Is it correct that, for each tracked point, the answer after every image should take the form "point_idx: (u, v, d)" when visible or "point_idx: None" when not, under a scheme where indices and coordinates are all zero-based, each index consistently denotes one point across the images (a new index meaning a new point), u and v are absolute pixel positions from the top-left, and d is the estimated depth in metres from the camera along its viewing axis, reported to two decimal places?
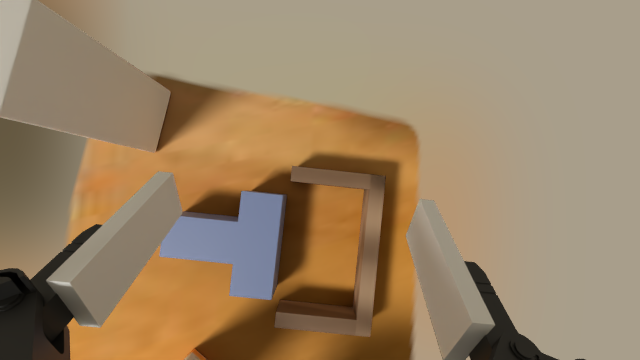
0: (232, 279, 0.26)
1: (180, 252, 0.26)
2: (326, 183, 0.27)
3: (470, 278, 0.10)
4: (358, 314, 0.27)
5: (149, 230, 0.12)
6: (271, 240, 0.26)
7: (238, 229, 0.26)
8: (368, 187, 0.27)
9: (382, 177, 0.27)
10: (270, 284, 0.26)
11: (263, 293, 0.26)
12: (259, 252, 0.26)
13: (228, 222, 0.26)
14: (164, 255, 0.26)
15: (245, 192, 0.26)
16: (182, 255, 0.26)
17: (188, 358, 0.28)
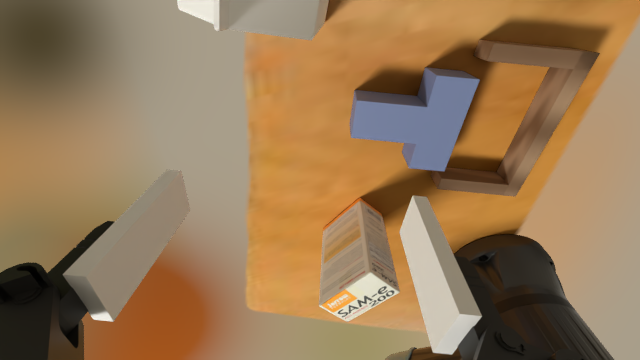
0: (414, 156, 0.30)
1: (369, 134, 0.29)
2: (526, 63, 0.25)
3: (459, 272, 0.10)
4: (512, 181, 0.32)
5: (159, 227, 0.13)
6: (456, 124, 0.27)
7: (426, 114, 0.27)
8: (573, 67, 0.25)
9: (595, 55, 0.24)
10: (446, 160, 0.30)
11: (438, 166, 0.30)
12: (442, 134, 0.28)
13: (418, 107, 0.27)
14: (355, 136, 0.29)
15: (440, 76, 0.25)
16: (371, 136, 0.29)
17: (361, 205, 0.36)
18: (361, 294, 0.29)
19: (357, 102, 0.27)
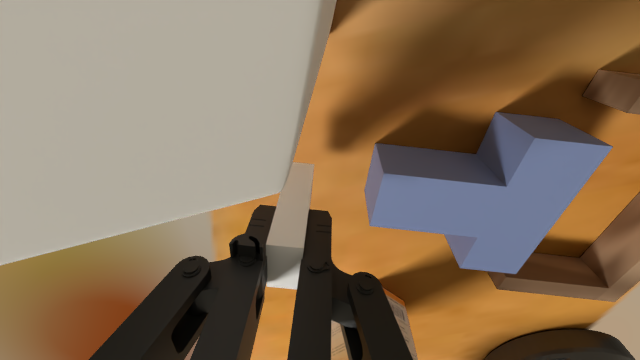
0: (470, 253, 0.18)
1: (401, 222, 0.17)
2: None
3: (305, 218, 0.12)
4: (616, 283, 0.20)
5: None
6: (551, 212, 0.16)
7: (503, 197, 0.16)
8: None
9: None
10: (522, 260, 0.18)
11: (508, 268, 0.19)
12: (523, 226, 0.17)
13: (490, 187, 0.15)
14: (377, 225, 0.17)
15: (540, 140, 0.14)
16: (403, 225, 0.17)
17: None
18: None
19: (384, 176, 0.15)
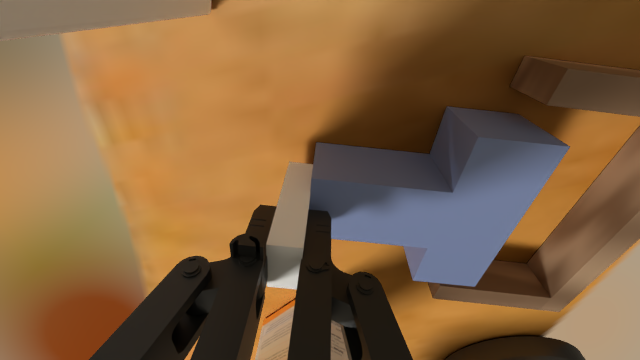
0: (422, 265, 0.16)
1: (340, 232, 0.15)
2: (629, 112, 0.12)
3: (305, 218, 0.12)
4: (558, 293, 0.19)
5: None
6: (507, 221, 0.14)
7: (451, 204, 0.14)
8: None
9: None
10: (480, 272, 0.16)
11: (465, 280, 0.17)
12: (477, 236, 0.15)
13: (434, 193, 0.13)
14: None
15: (485, 139, 0.12)
16: (343, 235, 0.15)
17: None
18: None
19: (313, 181, 0.13)
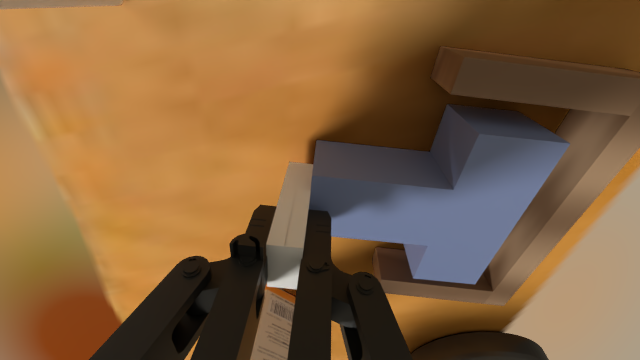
0: (422, 263, 0.16)
1: (341, 229, 0.15)
2: (533, 101, 0.12)
3: (305, 218, 0.12)
4: (499, 286, 0.19)
5: None
6: (507, 218, 0.14)
7: (451, 201, 0.14)
8: (630, 112, 0.12)
9: None
10: (480, 269, 0.16)
11: (466, 278, 0.17)
12: (477, 233, 0.15)
13: (435, 190, 0.13)
14: None
15: (486, 136, 0.12)
16: (344, 233, 0.15)
17: (265, 299, 0.23)
18: None
19: (313, 178, 0.13)
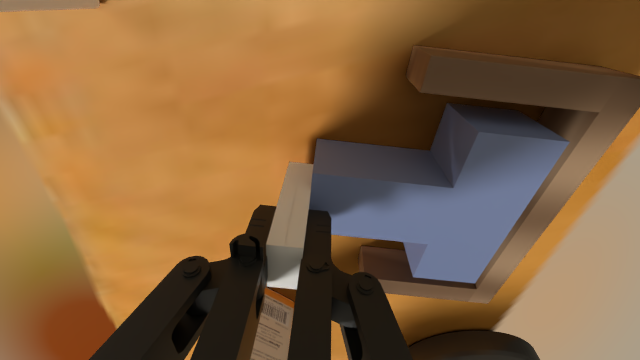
0: (422, 261, 0.16)
1: (341, 227, 0.15)
2: (502, 98, 0.12)
3: (305, 218, 0.12)
4: (482, 284, 0.19)
5: None
6: (507, 217, 0.14)
7: (451, 199, 0.14)
8: (599, 108, 0.12)
9: None
10: (480, 268, 0.16)
11: (466, 277, 0.17)
12: (477, 232, 0.15)
13: (435, 188, 0.13)
14: None
15: (486, 134, 0.12)
16: (344, 231, 0.15)
17: None
18: None
19: (314, 176, 0.13)
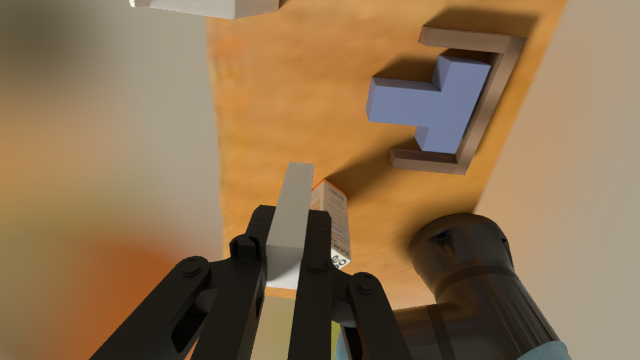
0: (427, 138, 0.32)
1: (386, 118, 0.31)
2: (461, 47, 0.27)
3: (305, 218, 0.12)
4: (460, 160, 0.34)
5: None
6: (467, 108, 0.30)
7: (440, 98, 0.29)
8: (504, 51, 0.27)
9: (522, 39, 0.27)
10: (457, 142, 0.32)
11: (450, 149, 0.32)
12: (454, 118, 0.30)
13: (432, 92, 0.29)
14: (373, 120, 0.31)
15: (454, 63, 0.27)
16: (387, 120, 0.31)
17: (324, 185, 0.39)
18: None
19: (376, 87, 0.29)
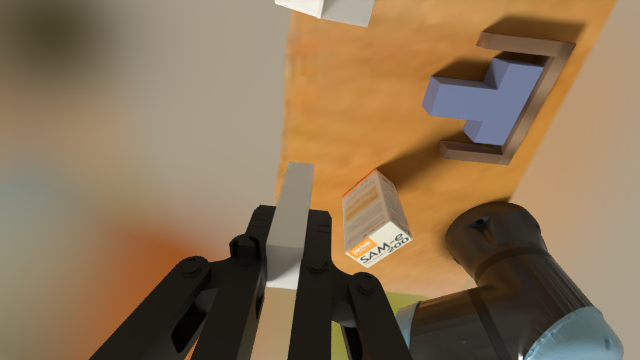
0: (480, 131, 0.36)
1: (446, 112, 0.35)
2: (518, 51, 0.31)
3: (305, 218, 0.12)
4: (505, 151, 0.38)
5: None
6: (519, 104, 0.34)
7: (496, 95, 0.33)
8: (555, 55, 0.31)
9: (572, 45, 0.31)
10: (506, 135, 0.36)
11: (499, 141, 0.36)
12: (506, 113, 0.34)
13: (490, 90, 0.33)
14: (434, 114, 0.35)
15: (512, 64, 0.31)
16: (447, 114, 0.35)
17: (377, 174, 0.43)
18: (381, 241, 0.35)
19: (440, 85, 0.33)
